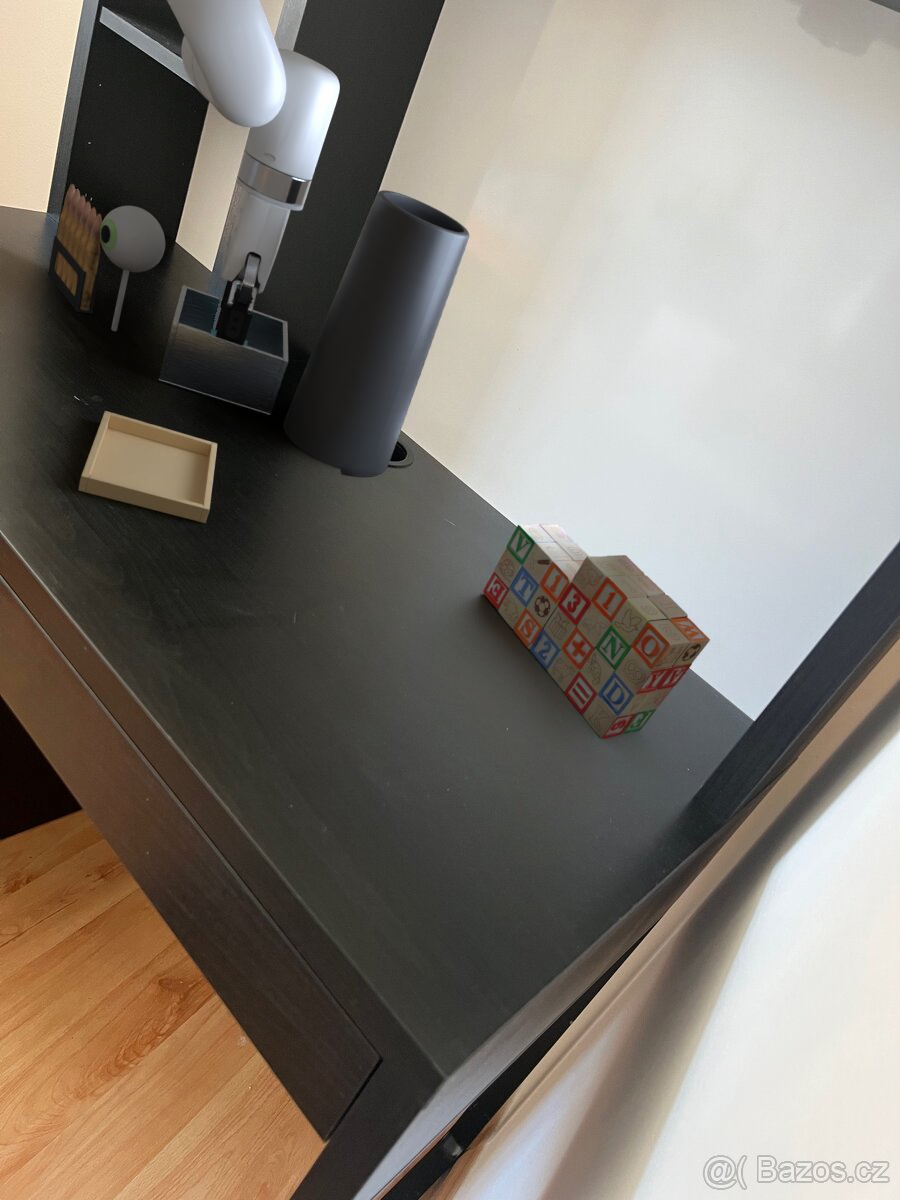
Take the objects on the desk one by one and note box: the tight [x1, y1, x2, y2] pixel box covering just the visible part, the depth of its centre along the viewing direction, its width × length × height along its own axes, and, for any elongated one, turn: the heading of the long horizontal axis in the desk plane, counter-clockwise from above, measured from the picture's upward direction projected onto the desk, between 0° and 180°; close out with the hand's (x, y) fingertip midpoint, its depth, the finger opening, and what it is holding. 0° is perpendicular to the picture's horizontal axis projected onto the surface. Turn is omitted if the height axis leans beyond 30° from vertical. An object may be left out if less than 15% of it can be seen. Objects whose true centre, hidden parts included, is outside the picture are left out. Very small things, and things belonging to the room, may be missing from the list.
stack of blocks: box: [482, 523, 711, 740], centre depth 84 cm, size 21×6×12 cm, turn 34°
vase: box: [282, 189, 470, 477], centre depth 97 cm, size 14×14×29 cm
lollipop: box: [100, 205, 166, 332], centre depth 101 cm, size 7×7×15 cm
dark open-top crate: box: [157, 284, 289, 418], centre depth 103 cm, size 13×13×8 cm
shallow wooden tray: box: [78, 410, 218, 524], centre depth 82 cm, size 11×13×2 cm
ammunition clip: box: [47, 183, 103, 315], centre depth 104 cm, size 11×2×12 cm, turn 39°
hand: (231, 326), depth 102 cm, fingers open, 9 cm apart
